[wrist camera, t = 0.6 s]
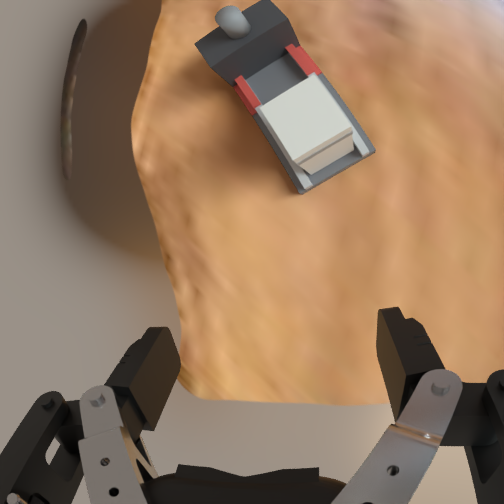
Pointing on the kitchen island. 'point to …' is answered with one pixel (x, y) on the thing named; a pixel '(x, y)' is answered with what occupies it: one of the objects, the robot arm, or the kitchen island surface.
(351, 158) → the grey boxy device
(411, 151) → the kitchen island surface
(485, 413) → the robot arm
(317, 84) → the grooved white block
